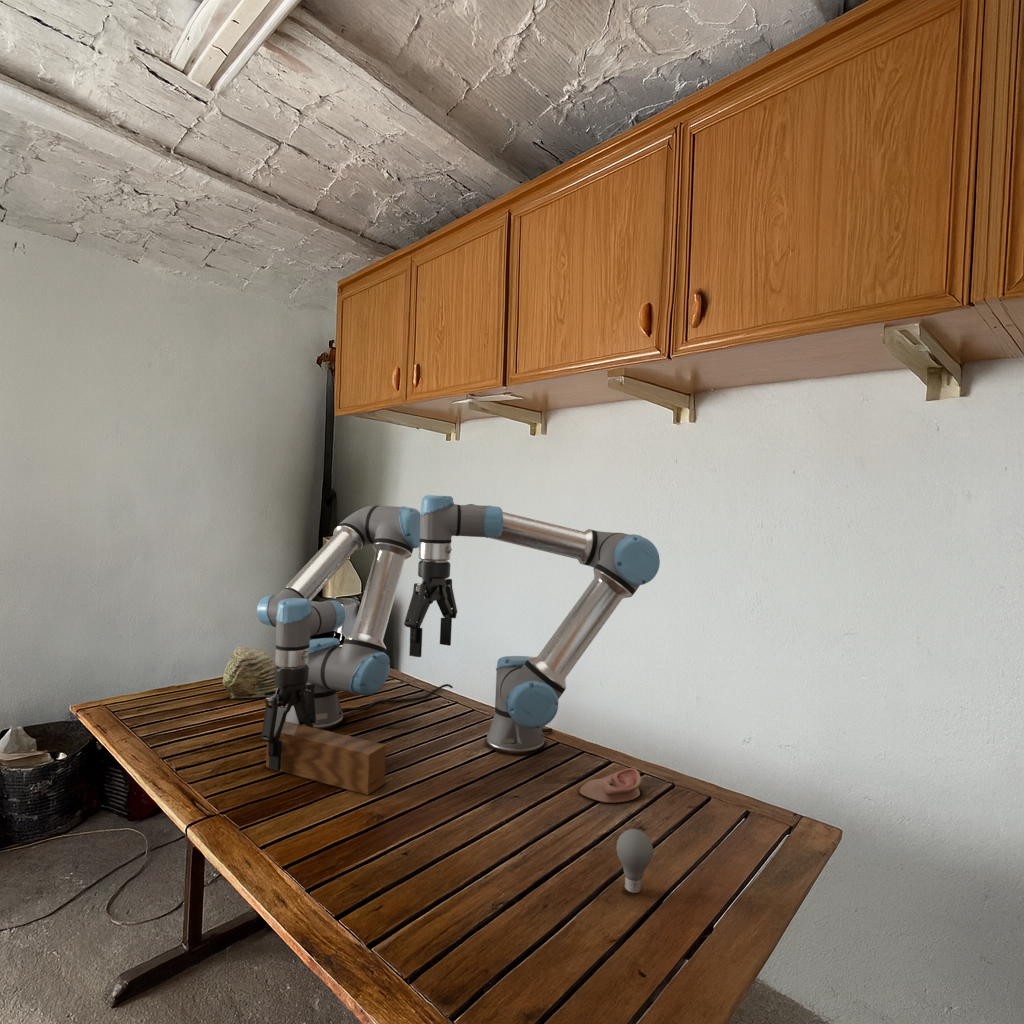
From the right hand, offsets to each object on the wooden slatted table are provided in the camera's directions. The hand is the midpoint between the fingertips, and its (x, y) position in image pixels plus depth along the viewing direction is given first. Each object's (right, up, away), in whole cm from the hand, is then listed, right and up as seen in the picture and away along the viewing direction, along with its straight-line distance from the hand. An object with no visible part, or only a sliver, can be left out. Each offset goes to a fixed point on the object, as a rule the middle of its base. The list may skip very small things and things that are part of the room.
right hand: (430, 650), depth 150 cm
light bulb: (+39, -31, -44) cm, 66 cm away
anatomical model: (+41, -30, -8) cm, 52 cm away
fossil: (-61, -25, +48) cm, 82 cm away
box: (-24, -27, -6) cm, 36 cm away
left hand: (-33, -26, -1) cm, 42 cm away
